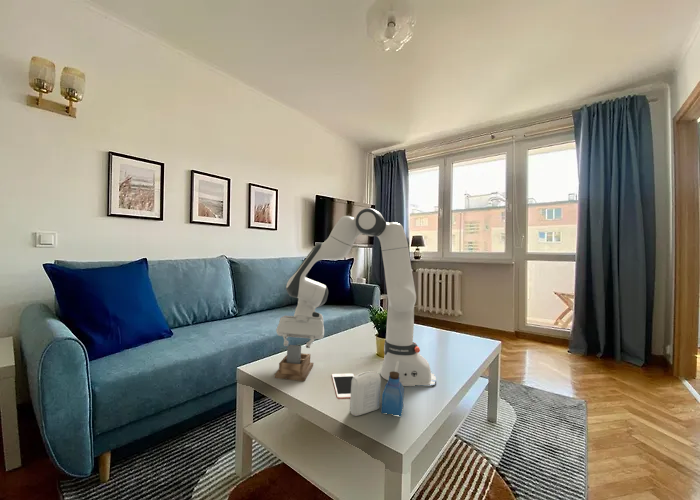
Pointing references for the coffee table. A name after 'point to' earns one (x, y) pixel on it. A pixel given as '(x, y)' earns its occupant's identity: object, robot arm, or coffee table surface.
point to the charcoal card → (294, 354)
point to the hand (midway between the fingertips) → (296, 346)
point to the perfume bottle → (393, 395)
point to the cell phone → (342, 385)
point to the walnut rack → (295, 369)
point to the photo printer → (365, 393)
